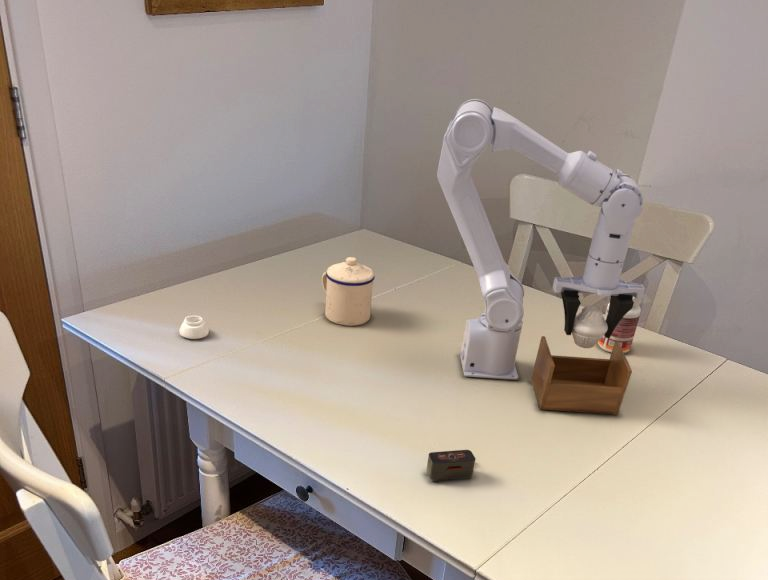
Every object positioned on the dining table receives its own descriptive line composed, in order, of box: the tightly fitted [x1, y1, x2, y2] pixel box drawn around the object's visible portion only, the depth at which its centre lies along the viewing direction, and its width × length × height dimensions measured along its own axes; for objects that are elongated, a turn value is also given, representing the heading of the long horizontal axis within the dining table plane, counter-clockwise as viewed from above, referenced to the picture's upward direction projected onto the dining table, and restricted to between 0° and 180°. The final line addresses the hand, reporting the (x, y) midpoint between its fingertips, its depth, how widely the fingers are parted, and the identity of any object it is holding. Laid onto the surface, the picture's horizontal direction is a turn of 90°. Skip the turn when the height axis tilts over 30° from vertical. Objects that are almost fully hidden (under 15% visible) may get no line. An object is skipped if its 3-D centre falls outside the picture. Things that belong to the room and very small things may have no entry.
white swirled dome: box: [571, 305, 608, 349], centre depth 131 cm, size 6×6×7 cm
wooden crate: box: [531, 335, 633, 415], centre depth 129 cm, size 9×13×8 cm
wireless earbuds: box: [425, 449, 476, 482], centre depth 111 cm, size 5×7×3 cm, turn 105°
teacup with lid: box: [321, 256, 376, 327], centre depth 148 cm, size 12×9×12 cm
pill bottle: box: [597, 297, 642, 354], centre depth 147 cm, size 6×6×11 cm
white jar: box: [179, 315, 210, 340], centre depth 138 cm, size 5×3×5 cm
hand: (586, 334), depth 132 cm, fingers closed on white swirled dome, 6 cm apart
